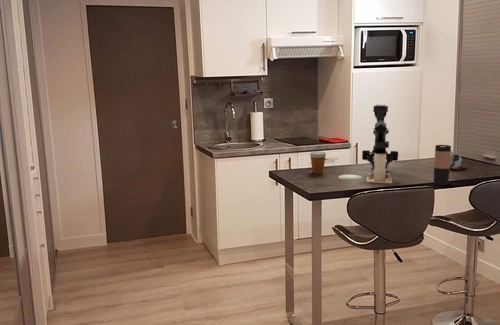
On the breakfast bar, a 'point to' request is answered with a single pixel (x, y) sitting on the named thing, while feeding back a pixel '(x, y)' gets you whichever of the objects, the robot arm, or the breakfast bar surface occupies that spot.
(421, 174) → the breakfast bar surface
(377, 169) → the jug
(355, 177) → the mat
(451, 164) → the lucky cat figurine
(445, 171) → the travel mug
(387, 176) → the wooden tray
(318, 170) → the disposable coffee cup
